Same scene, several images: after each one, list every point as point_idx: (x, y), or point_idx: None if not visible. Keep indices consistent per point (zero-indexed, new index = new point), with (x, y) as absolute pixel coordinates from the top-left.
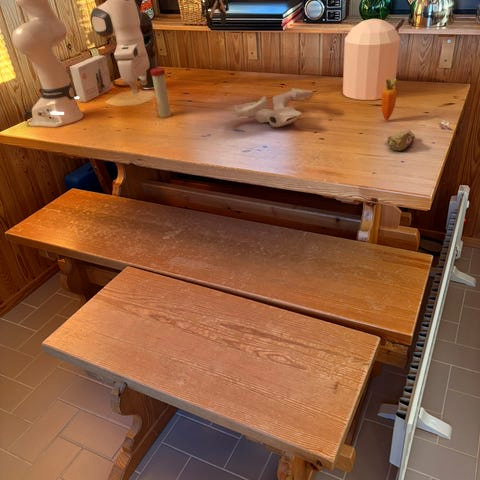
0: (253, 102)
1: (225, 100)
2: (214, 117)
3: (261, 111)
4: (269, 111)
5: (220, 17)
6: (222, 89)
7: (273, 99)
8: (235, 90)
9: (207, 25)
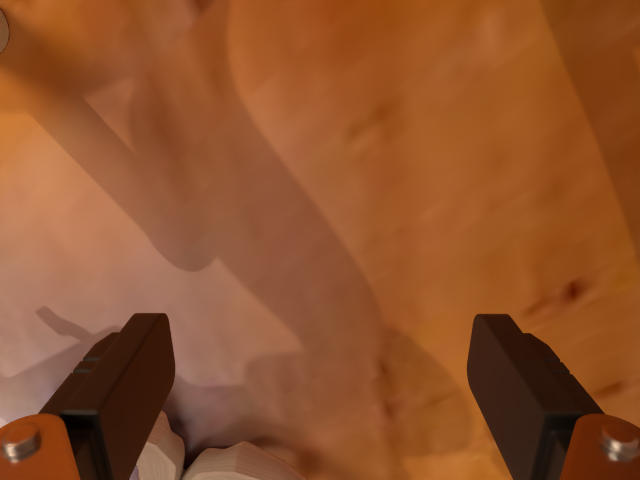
0: (147, 445)
1: (293, 175)
2: (106, 261)
3: (141, 464)
4: (163, 477)
5: (515, 368)
6: (440, 43)
7: (228, 471)
8: (443, 128)
9: (95, 348)
